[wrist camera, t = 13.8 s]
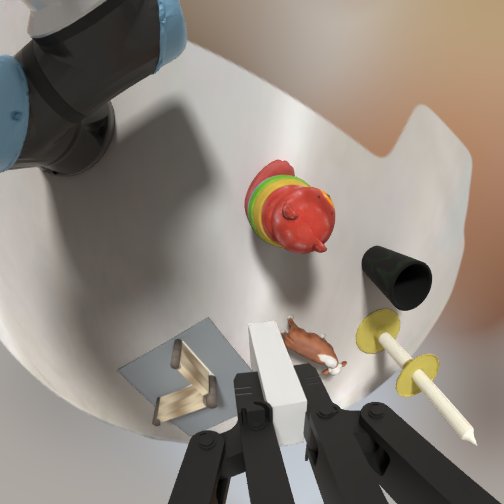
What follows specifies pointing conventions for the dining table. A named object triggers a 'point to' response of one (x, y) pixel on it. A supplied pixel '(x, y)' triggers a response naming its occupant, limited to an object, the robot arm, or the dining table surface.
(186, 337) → the card
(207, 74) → the dining table surface
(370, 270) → the cup
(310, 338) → the bull figurine
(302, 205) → the stacking bear
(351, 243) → the dining table surface
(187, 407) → the fence hinged
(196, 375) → the fence fixed
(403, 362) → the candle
